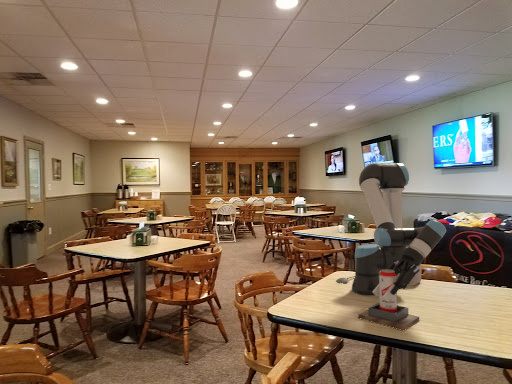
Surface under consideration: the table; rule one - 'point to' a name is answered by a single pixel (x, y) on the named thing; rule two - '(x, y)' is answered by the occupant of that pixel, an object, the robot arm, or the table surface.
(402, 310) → the grey shallow square box
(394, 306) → the beer can
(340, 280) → the soupspoon
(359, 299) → the table surface
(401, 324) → the keeper board
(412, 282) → the container
